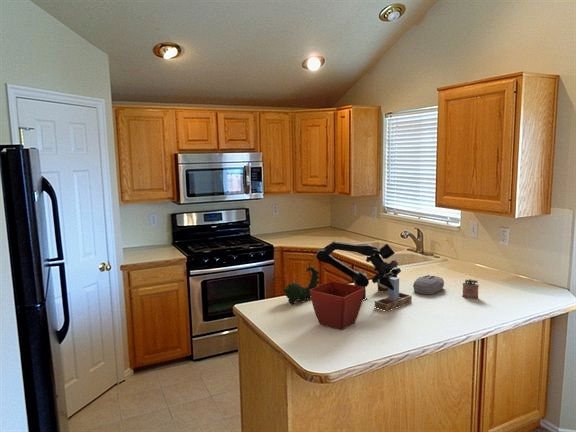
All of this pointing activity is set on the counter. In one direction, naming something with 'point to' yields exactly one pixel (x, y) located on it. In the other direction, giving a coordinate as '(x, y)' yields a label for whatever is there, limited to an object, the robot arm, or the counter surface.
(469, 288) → the lighter
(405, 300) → the slot organizer
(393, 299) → the plug block
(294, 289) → the toy figurine
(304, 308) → the counter surface
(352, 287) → the plant pot
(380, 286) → the food container
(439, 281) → the soft grey pack
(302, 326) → the counter surface
